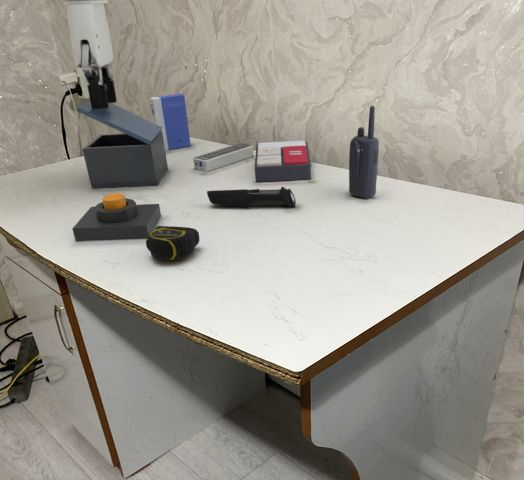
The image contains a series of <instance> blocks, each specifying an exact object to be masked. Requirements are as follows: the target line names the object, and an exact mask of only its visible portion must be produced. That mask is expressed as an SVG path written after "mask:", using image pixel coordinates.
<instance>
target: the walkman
mask: <svg viewBox="0 0 524 480" xmlns="http://www.w3.org/2000/svg"><path fill="white" fill-rule="evenodd" d="M149 100H150V108H151V109H150V110H151V115H152V118H153V123H154V124H156V125H158V126H161V127H162V130H161V132H162V133H163V140H164V146H165V152H166V151H171V150H177V149H182V148H188V147H191V146H192V144H191V136H190V130H189V128H190V127H189V121H188V113H187V106H186V98H185V94H183V93H178V92H172V93H171V94H166V95H161V96H153V97H150V98H149Z"/></svg>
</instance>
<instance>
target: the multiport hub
mask: <svg viewBox="0 0 524 480" xmlns="http://www.w3.org/2000/svg"><path fill="white" fill-rule="evenodd" d="M253 157H254V145H253V144H247V143H242V142H239V143H236V144H232V145H230V146H226V147H223V148H220V149H216V150H213V151H210V152H207V153H204V154H200V155H197V156H194V157H193V158H192V159H193V169H194V170H198V171H201V172H206V173H207V172H211V171H214V170H217V169H219V168H223V167H225V166H228V165H231V164H235V163H237V162H241V161H244V160H247V159H249V158H253Z"/></svg>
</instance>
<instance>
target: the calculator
mask: <svg viewBox="0 0 524 480" xmlns="http://www.w3.org/2000/svg"><path fill="white" fill-rule="evenodd" d="M310 157H311V156H310V150H309V146H308V142H307V141H306V140H289V141H270V142H269V141H268V142H258V143H257V144H256V145H255V159H254V176H255V177H254V178H255V183H265V182H285V181H286V182H287V181H305V180H311V179H312V161H311V158H310Z"/></svg>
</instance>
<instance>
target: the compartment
mask: <svg viewBox="0 0 524 480" xmlns="http://www.w3.org/2000/svg"><path fill="white" fill-rule="evenodd" d="M81 150H82V154H83V158H84V162H85V166H86V170H87V175H88V178H89V183H90V187H91V189H110V188H111V189H112V188H133V187H135V188H136V187H156V186H159V184H160V182H161V180H162V179H163V178H164V176H165V174H166V173H167V171H168V170H169V167H168V161H167V160H168V159H167V153H166V151H165V146H164V140H163V133H162V132H160V133H159V134H158V135H157V137H156V138H155V139H154V140H153V141H152V143H151V144H150V145H149V144H147V143H145V142H142V141H140V140H138V139H136V138H134V137H132V136H129V135H127V134H125V133H123V132H122V133H107V134H106V133H105V134H104V133H103V134H98V136H96V137H95V138H93V139H92V140H91V141H90V142H89V143H88V144H86V145H85V146H84V147H83V148H82V149H81Z"/></svg>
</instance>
